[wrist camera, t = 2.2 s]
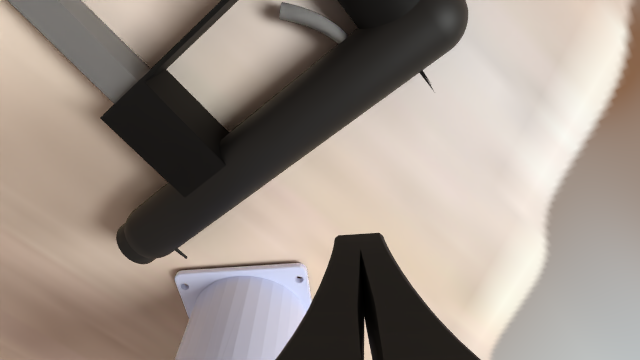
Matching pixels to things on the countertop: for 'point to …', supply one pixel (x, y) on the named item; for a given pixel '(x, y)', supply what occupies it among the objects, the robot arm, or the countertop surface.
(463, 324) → the countertop surface
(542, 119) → the countertop surface
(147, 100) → the door handle
